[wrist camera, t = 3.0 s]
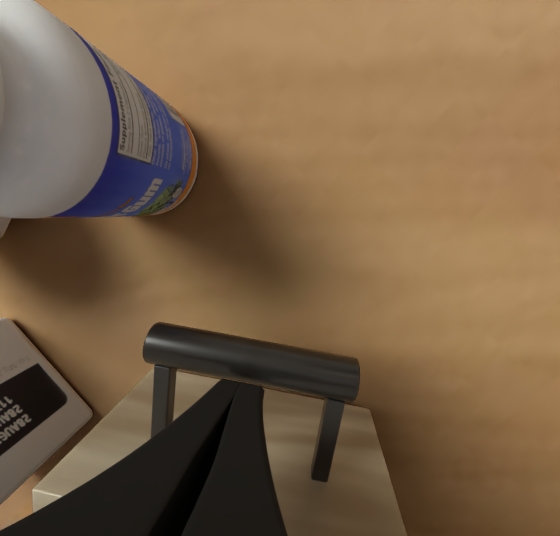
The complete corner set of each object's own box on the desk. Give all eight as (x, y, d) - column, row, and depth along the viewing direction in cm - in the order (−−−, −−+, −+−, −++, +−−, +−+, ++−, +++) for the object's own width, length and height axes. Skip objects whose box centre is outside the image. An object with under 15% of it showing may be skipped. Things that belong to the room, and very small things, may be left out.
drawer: (158, 281, 14) (22, 346, 7) (391, 322, 13) (472, 435, 7) (144, 555, 18) (46, 758, 11) (322, 599, 17) (330, 846, 10)
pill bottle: (116, 225, 15) (-243, 255, 5) (81, 115, 14) (-441, -99, 4) (215, 202, 14) (8, 186, 4) (185, 83, 13) (-167, -272, 3)
